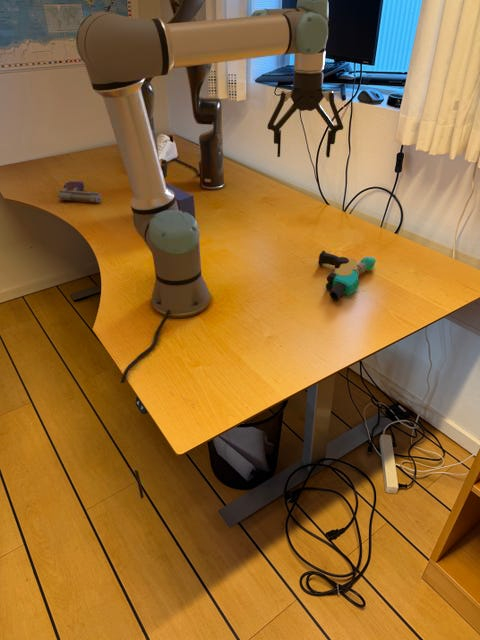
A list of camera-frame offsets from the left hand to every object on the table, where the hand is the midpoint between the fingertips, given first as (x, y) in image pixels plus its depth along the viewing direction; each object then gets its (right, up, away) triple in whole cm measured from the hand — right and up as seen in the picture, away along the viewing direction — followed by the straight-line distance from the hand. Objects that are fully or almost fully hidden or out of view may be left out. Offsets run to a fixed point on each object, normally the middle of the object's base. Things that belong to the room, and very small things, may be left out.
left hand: (303, 155), depth 133 cm
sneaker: (-55, +25, +85) cm, 105 cm away
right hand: (-49, -1, +34) cm, 59 cm away
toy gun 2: (+10, -35, +1) cm, 36 cm away
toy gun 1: (-79, +2, +54) cm, 95 cm away
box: (-43, -11, +33) cm, 55 cm away
